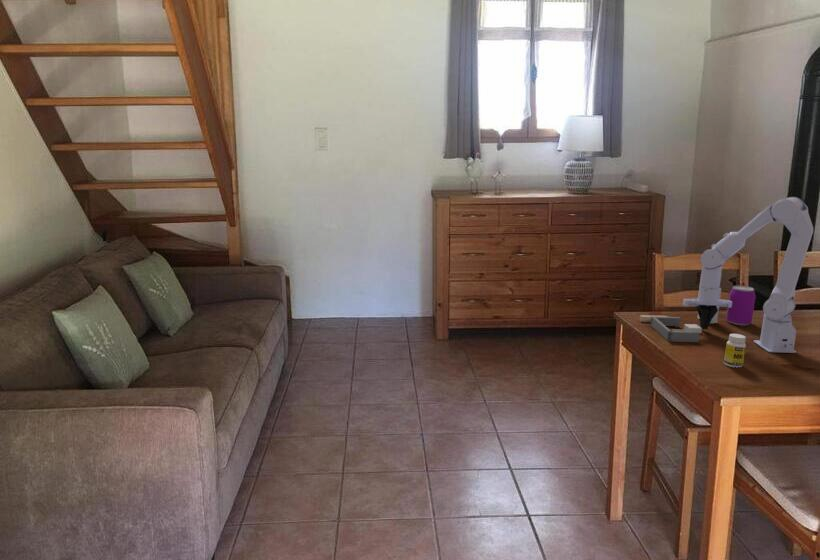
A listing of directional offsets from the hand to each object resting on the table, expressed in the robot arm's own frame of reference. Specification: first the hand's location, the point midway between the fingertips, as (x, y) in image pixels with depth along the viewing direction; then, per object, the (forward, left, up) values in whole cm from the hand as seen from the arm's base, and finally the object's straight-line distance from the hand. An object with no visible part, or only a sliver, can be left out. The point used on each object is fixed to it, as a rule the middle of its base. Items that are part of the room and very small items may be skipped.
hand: (703, 328), depth 205 cm
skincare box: (+11, -6, -1) cm, 13 cm away
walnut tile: (-6, +10, -1) cm, 12 cm away
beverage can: (+10, -16, -1) cm, 19 cm away
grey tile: (0, +4, -1) cm, 4 cm away
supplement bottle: (-30, +4, -1) cm, 30 cm away
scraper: (+9, +11, -1) cm, 15 cm away
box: (-3, +11, -1) cm, 11 cm away
